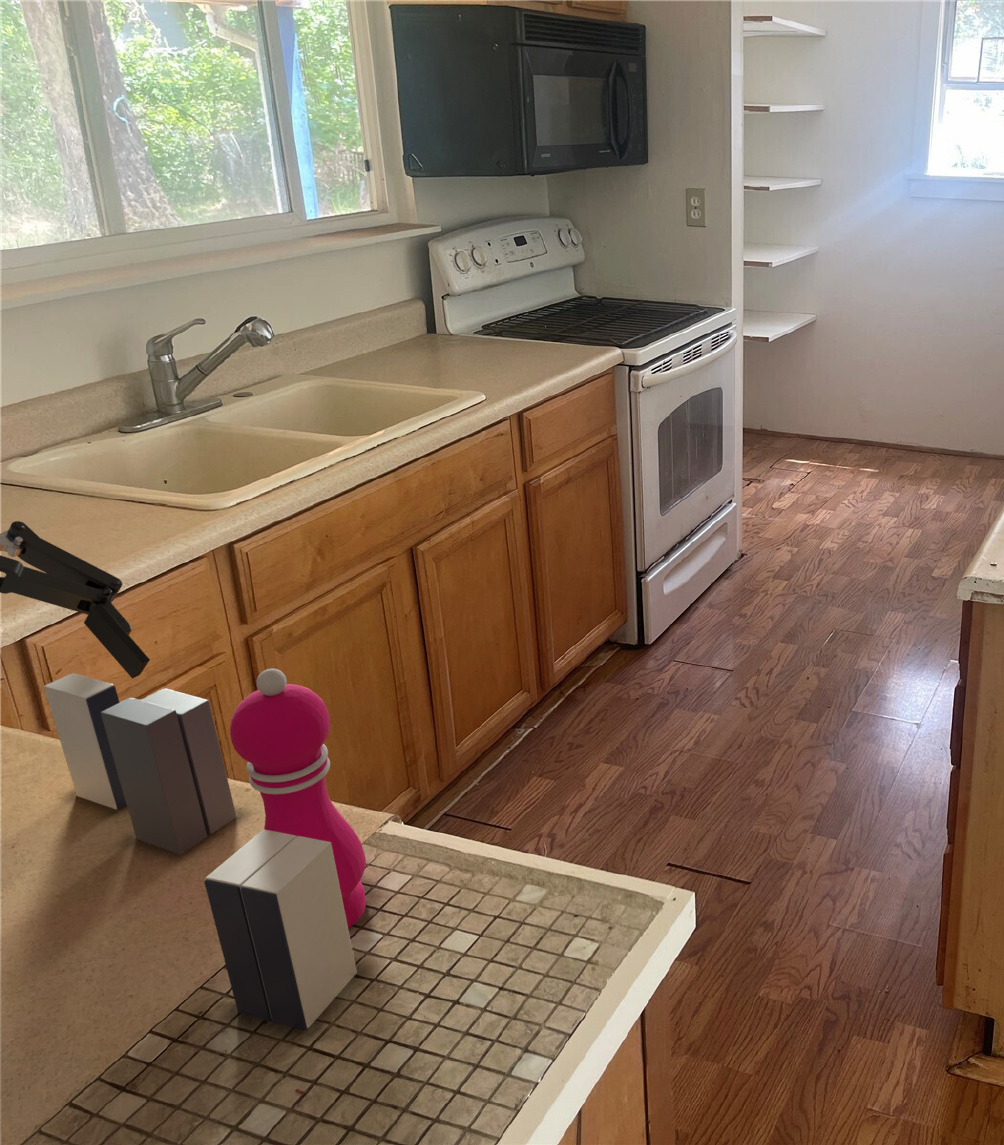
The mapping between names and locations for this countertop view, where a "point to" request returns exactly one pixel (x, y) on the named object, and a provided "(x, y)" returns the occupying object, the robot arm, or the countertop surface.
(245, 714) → the pepper mill
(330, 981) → the grey tall block
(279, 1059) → the countertop surface
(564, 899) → the countertop surface
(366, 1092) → the countertop surface
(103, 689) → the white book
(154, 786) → the grey books
